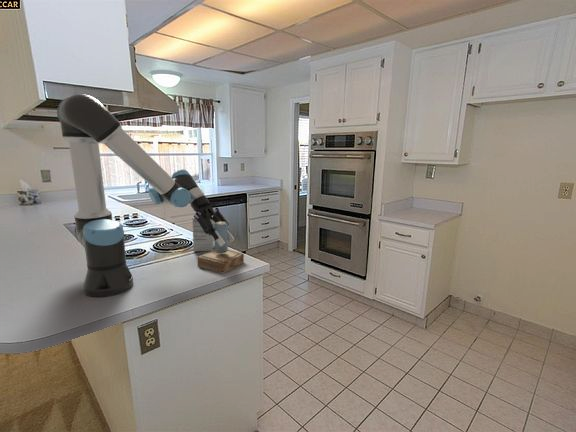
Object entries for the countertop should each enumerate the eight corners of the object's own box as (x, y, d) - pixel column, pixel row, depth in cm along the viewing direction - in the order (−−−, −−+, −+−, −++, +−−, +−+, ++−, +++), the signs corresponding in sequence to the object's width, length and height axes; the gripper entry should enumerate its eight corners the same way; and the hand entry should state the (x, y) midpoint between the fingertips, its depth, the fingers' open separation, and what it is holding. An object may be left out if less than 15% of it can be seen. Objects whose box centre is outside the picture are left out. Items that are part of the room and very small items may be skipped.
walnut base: (223, 272, 122) (223, 263, 121) (197, 265, 128) (197, 256, 127) (243, 262, 134) (243, 253, 133) (219, 255, 140) (219, 247, 139)
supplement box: (212, 251, 146) (212, 217, 142) (193, 251, 144) (192, 217, 140) (214, 245, 155) (213, 213, 151) (195, 245, 153) (194, 213, 149)
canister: (221, 253, 126) (221, 225, 123) (211, 251, 128) (211, 223, 126) (230, 250, 131) (230, 222, 128) (220, 247, 133) (219, 220, 130)
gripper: (207, 202, 140) (236, 241, 137) (177, 208, 124) (208, 253, 121) (216, 192, 137) (245, 232, 133) (185, 197, 121) (218, 243, 117)
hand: (227, 242), depth 127 cm, fingers closed on canister, 6 cm apart
